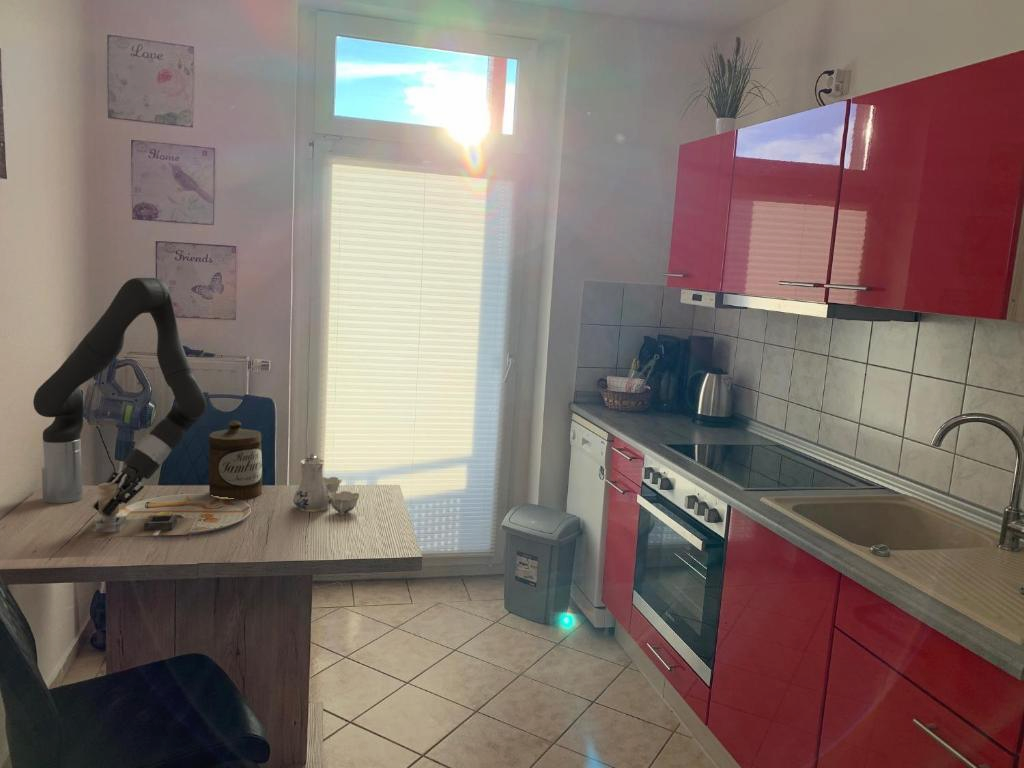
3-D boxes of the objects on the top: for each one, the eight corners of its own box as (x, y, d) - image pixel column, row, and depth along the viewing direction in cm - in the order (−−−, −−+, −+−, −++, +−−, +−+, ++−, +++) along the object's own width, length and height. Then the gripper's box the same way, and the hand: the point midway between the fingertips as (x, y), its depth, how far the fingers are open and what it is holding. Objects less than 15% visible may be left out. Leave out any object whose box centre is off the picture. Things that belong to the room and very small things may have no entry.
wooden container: (225, 503, 231) (224, 427, 228) (200, 492, 241) (198, 419, 238) (271, 494, 242) (271, 421, 239) (246, 484, 252) (245, 414, 249)
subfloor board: (76, 544, 194) (76, 530, 194) (93, 526, 208) (93, 512, 207) (187, 540, 200) (187, 526, 199) (197, 522, 213) (197, 509, 213)
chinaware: (368, 521, 225) (374, 462, 223) (310, 524, 215) (316, 462, 214) (331, 496, 248) (336, 442, 246) (276, 498, 238) (282, 442, 237)
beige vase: (97, 531, 199) (95, 487, 198) (102, 525, 204) (100, 482, 202) (116, 530, 200) (115, 487, 199) (121, 525, 205) (119, 482, 203)
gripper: (125, 442, 210) (77, 497, 202) (150, 452, 200) (100, 509, 193) (146, 460, 214) (100, 513, 207) (171, 470, 205) (124, 526, 198)
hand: (100, 511), depth 200 cm, fingers closed on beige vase, 4 cm apart
